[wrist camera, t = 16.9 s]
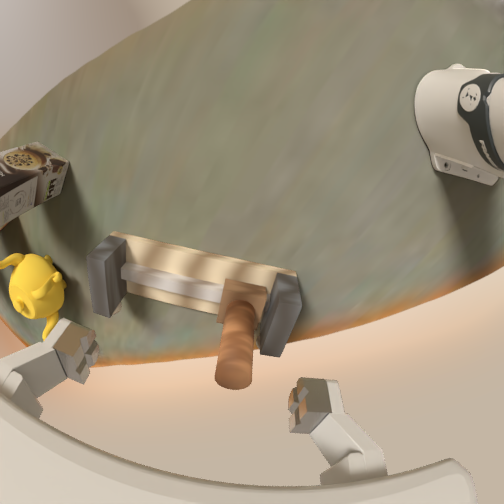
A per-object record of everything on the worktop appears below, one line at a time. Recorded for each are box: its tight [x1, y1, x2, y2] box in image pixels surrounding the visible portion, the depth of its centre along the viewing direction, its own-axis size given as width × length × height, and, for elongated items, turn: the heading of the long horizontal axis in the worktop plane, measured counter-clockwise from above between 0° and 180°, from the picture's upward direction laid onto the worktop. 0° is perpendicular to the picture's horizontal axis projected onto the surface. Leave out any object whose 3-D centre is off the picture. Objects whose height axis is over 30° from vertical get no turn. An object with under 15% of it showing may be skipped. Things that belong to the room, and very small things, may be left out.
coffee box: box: [0, 142, 69, 227], centre depth 27 cm, size 9×6×16 cm
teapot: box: [0, 253, 67, 341], centre depth 39 cm, size 20×15×12 cm
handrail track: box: [86, 231, 302, 357], centre depth 39 cm, size 30×11×8 cm, turn 77°
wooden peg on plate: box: [215, 278, 267, 390], centre depth 34 cm, size 6×6×16 cm
